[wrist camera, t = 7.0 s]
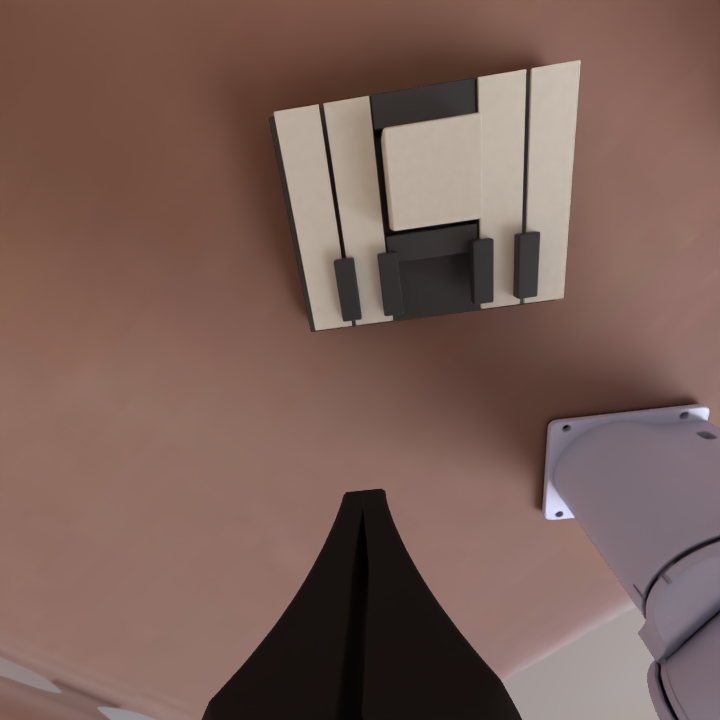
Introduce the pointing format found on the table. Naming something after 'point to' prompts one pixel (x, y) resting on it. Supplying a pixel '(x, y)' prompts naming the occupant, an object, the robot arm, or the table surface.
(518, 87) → the piano keys trim
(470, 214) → the square cream block
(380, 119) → the toy piano
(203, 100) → the table surface
